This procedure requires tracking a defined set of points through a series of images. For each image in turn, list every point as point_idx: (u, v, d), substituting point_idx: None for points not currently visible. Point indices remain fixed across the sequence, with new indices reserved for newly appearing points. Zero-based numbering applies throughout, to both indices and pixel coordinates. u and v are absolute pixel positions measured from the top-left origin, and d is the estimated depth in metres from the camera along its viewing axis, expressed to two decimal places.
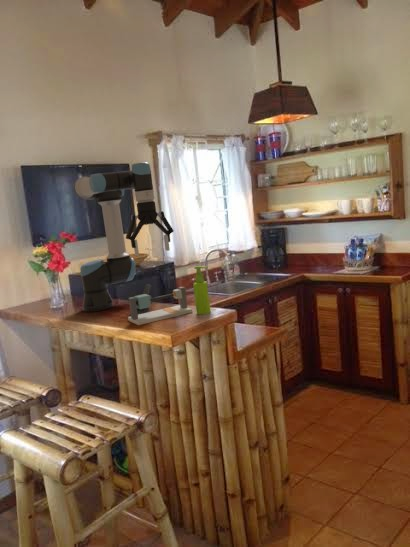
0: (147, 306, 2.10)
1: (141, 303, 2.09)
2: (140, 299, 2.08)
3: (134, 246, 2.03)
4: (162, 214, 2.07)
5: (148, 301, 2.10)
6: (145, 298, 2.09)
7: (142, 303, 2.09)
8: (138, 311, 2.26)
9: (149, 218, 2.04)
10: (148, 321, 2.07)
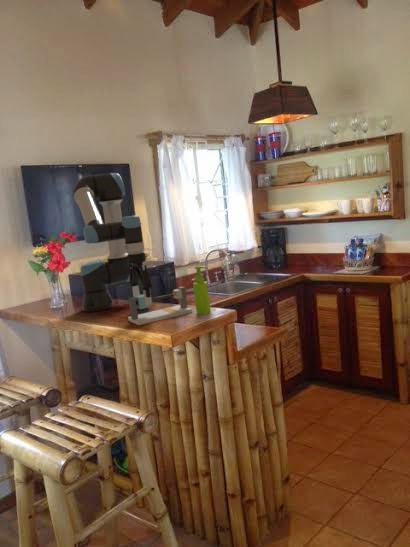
0: (147, 306, 2.10)
1: (141, 303, 2.09)
2: (140, 299, 2.08)
3: None
4: (140, 268, 2.03)
5: None
6: None
7: (142, 303, 2.09)
8: (138, 311, 2.26)
9: None
10: (148, 321, 2.07)
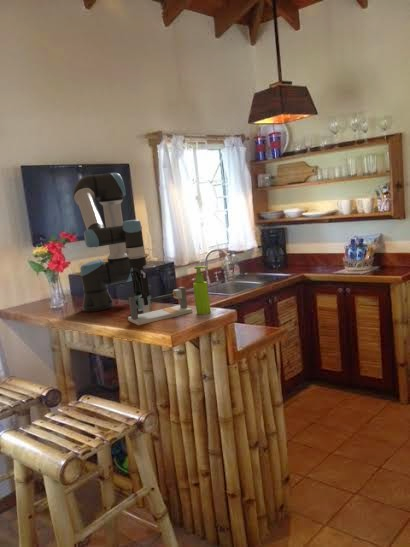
0: None
1: (141, 303, 2.09)
2: (140, 299, 2.08)
3: None
4: (141, 276, 2.04)
5: (148, 301, 2.10)
6: None
7: None
8: (138, 311, 2.26)
9: None
10: (148, 321, 2.07)
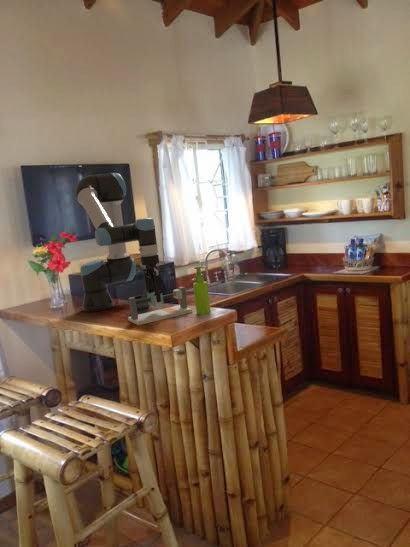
0: None
1: (154, 300, 2.11)
2: (153, 296, 2.11)
3: None
4: (154, 273, 2.07)
5: (161, 298, 2.13)
6: None
7: None
8: (138, 311, 2.26)
9: None
10: (148, 321, 2.07)
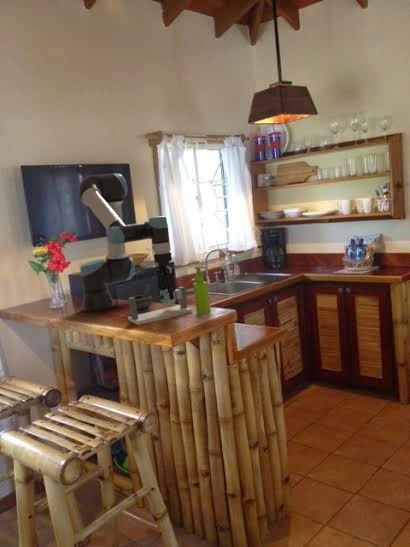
0: None
1: None
2: (166, 293, 2.13)
3: None
4: (167, 271, 2.09)
5: None
6: None
7: None
8: (138, 311, 2.26)
9: None
10: (148, 321, 2.07)
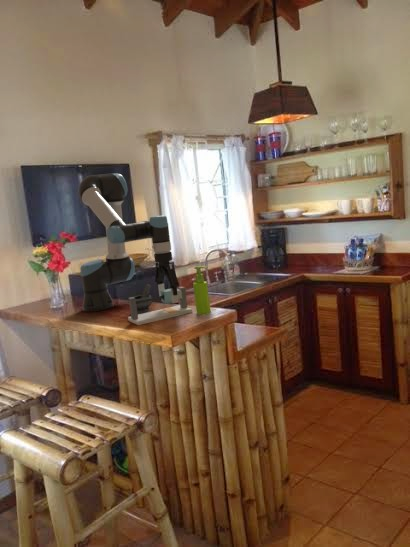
0: None
1: (167, 297, 2.14)
2: (166, 293, 2.14)
3: None
4: (167, 267, 2.09)
5: None
6: None
7: (168, 297, 2.14)
8: (138, 311, 2.26)
9: None
10: (148, 321, 2.07)
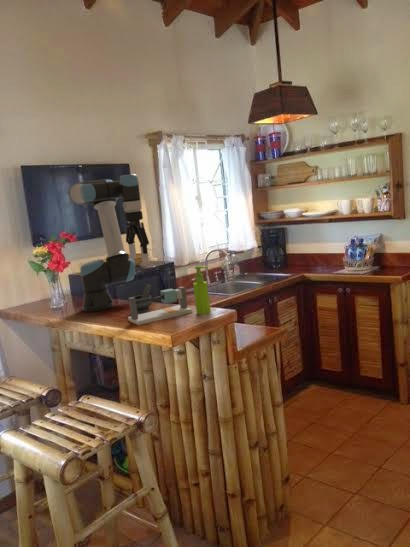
0: (173, 300, 2.15)
1: (167, 297, 2.14)
2: (166, 293, 2.14)
3: None
4: (137, 226, 2.10)
5: (174, 295, 2.15)
6: (171, 292, 2.15)
7: (168, 297, 2.14)
8: (138, 311, 2.26)
9: None
10: (148, 321, 2.07)
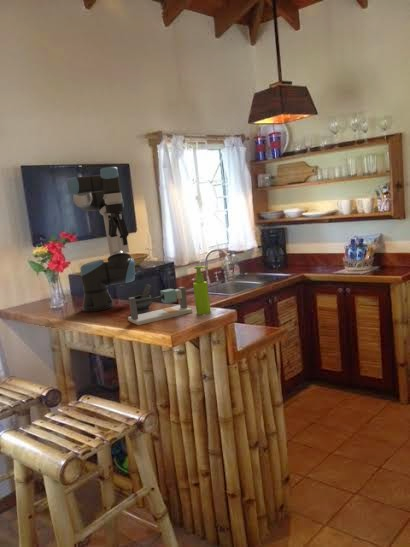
0: (173, 300, 2.15)
1: (167, 297, 2.14)
2: (166, 293, 2.14)
3: None
4: (117, 217, 2.12)
5: (174, 295, 2.15)
6: (171, 292, 2.15)
7: (168, 297, 2.14)
8: (138, 311, 2.26)
9: None
10: (148, 321, 2.07)
